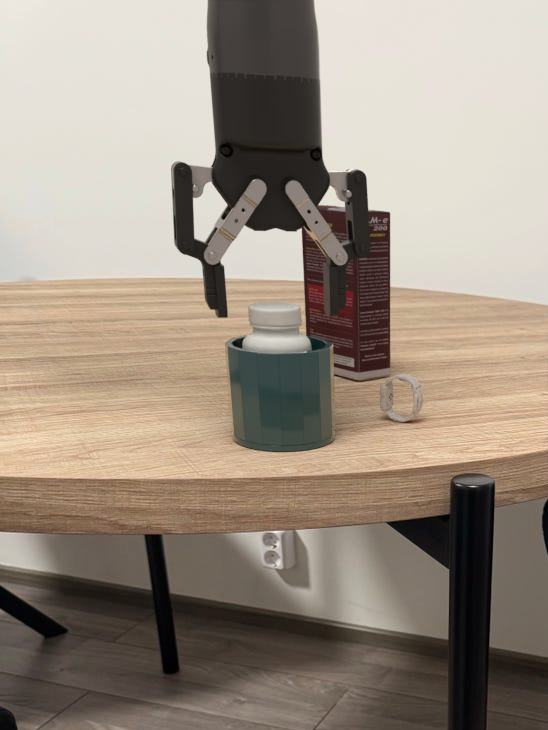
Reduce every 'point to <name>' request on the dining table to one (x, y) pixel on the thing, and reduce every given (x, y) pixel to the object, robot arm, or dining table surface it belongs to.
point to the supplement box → (353, 299)
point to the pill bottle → (275, 328)
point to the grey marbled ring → (387, 397)
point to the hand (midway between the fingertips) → (278, 315)
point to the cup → (281, 396)
